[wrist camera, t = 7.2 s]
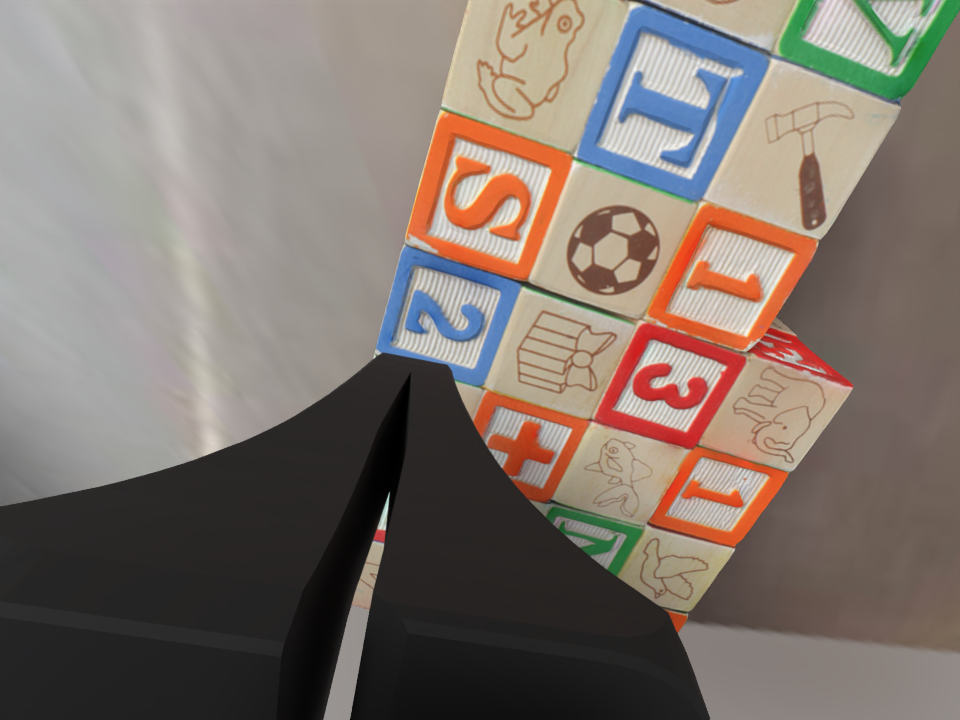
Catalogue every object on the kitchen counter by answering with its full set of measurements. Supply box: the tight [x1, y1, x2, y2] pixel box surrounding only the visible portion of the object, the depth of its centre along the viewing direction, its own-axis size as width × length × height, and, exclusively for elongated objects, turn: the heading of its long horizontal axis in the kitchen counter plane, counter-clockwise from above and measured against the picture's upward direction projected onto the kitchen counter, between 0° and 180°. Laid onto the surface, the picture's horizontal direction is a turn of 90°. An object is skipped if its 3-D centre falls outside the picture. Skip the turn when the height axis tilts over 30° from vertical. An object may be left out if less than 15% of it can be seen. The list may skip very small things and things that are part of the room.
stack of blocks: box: [352, 0, 960, 633], centre depth 17 cm, size 21×6×12 cm
